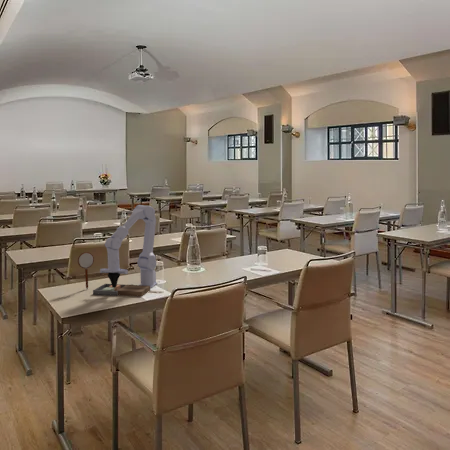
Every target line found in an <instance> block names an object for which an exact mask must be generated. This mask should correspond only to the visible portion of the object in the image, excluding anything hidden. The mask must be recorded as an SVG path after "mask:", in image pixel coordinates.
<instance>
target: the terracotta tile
mask: <svg viewBox="0 0 450 450" xmlns="http://www.w3.org/2000/svg"><path fill="white" fill-rule="evenodd" d="M109 287H112V285H111V286H109ZM112 288H114V287H112ZM119 289H121V285H117V286H116V287H115V288H114V290H115V291H117V290H119Z"/></svg>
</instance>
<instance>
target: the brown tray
mask: <svg viewBox="0 0 450 450" xmlns="http://www.w3.org/2000/svg"><path fill="white" fill-rule="evenodd" d="M125 285H126V286H124V287H122V288H121V289H119V290H118V295H117V296H120V297H121V296H123V297H139V298H141V297H144V296H145V295H146V294H148V293H149V292H150V291H151V287H150V286H144V285H140V284H125ZM148 291H149V292H148ZM147 292H148V293H147Z"/></svg>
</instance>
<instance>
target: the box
mask: <svg viewBox="0 0 450 450" xmlns="http://www.w3.org/2000/svg"><path fill="white" fill-rule="evenodd" d="M111 285H112V284H111V283H104V284H102V285H100V286H98V287H97V288H94V289H93V290H92V296H93V295H94V296H97V295H98V296H114V297H117V296H119V295H118V290H117V291H115V290H114V291H103V290H102V289H104V288H106V287H109V286H111ZM117 285H121V288H122V287H124V286H126V285H127V284H123V283H122V284H118V283H117Z"/></svg>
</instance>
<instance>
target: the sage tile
mask: <svg viewBox="0 0 450 450" xmlns="http://www.w3.org/2000/svg"><path fill="white" fill-rule="evenodd" d="M102 290H103V291H114V288H112V287H106V288H104V289H102Z"/></svg>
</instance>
